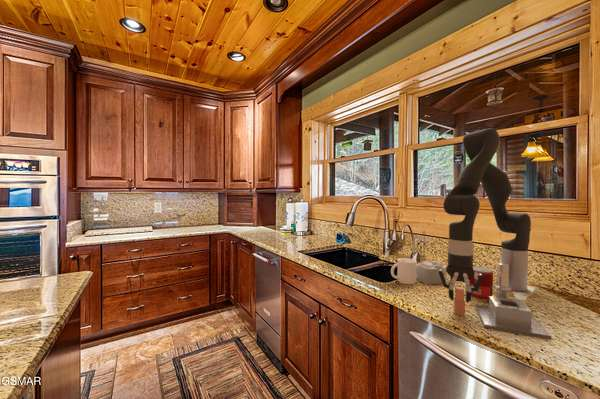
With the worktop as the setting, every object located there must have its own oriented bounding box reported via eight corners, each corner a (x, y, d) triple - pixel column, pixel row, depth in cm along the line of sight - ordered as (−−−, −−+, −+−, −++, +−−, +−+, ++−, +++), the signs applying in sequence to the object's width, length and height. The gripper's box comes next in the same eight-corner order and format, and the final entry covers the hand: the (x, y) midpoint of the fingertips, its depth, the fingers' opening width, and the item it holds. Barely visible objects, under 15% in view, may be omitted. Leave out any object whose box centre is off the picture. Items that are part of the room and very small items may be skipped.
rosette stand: (474, 304, 100) (474, 259, 99) (527, 312, 93) (528, 264, 92) (484, 327, 83) (485, 274, 82) (551, 339, 76) (552, 281, 76)
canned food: (496, 299, 104) (496, 272, 104) (473, 298, 105) (474, 271, 105) (486, 292, 111) (487, 266, 111) (465, 291, 113) (466, 265, 113)
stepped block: (453, 310, 95) (454, 286, 94) (463, 312, 93) (464, 287, 93) (454, 314, 92) (455, 288, 92) (464, 316, 91) (465, 290, 90)
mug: (394, 285, 120) (394, 263, 120) (386, 279, 128) (387, 258, 128) (419, 284, 121) (420, 262, 121) (410, 278, 129) (410, 257, 129)
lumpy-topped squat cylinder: (413, 277, 131) (413, 260, 130) (435, 275, 134) (436, 258, 133) (428, 285, 120) (429, 266, 120) (452, 282, 124) (452, 264, 123)
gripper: (482, 251, 92) (481, 300, 93) (436, 248, 98) (436, 293, 99) (487, 256, 86) (486, 308, 86) (437, 252, 91) (437, 301, 92)
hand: (459, 300), depth 92 cm, fingers open, 4 cm apart
